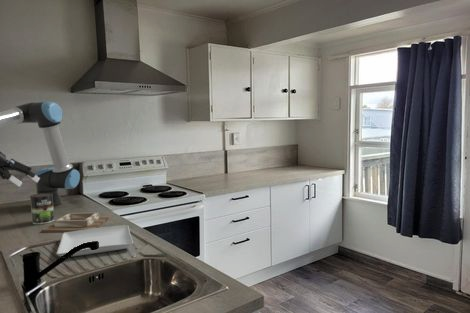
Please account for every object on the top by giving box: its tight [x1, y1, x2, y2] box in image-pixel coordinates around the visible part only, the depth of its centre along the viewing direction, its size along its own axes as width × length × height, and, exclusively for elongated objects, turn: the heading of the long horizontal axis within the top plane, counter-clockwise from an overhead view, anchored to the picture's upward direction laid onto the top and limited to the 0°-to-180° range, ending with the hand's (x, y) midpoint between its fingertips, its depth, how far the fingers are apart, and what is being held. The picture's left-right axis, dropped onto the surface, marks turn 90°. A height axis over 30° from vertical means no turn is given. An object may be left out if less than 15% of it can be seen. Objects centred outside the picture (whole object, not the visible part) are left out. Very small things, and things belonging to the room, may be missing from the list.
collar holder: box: [40, 211, 112, 233], centre depth 178 cm, size 24×24×4 cm
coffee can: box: [29, 193, 55, 225], centre depth 185 cm, size 10×10×14 cm
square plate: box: [55, 224, 134, 258], centre depth 148 cm, size 27×27×4 cm
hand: (29, 182), depth 182 cm, fingers open, 13 cm apart
